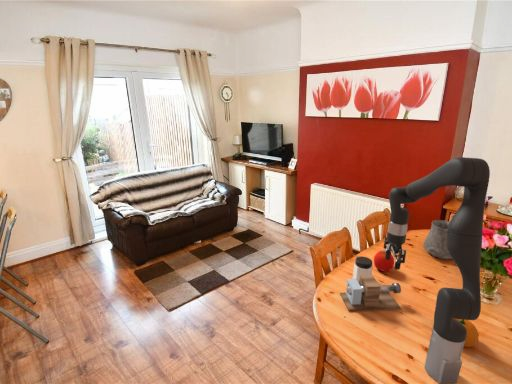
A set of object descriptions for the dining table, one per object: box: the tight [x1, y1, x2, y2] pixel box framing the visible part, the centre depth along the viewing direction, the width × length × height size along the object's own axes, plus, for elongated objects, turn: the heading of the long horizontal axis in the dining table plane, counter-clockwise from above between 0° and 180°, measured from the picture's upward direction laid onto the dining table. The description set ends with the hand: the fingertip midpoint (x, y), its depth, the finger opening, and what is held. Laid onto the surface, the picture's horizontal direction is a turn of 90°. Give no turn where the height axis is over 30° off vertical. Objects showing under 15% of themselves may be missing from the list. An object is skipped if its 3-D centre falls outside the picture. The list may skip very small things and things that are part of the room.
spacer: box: [345, 278, 362, 305], centre depth 137 cm, size 8×4×8 cm, turn 3°
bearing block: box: [339, 275, 402, 312], centre depth 138 cm, size 12×24×12 cm, turn 93°
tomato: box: [373, 250, 395, 272], centre depth 164 cm, size 10×11×11 cm
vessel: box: [423, 219, 453, 260], centre depth 178 cm, size 22×22×20 cm
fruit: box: [454, 318, 480, 348], centre depth 116 cm, size 12×12×10 cm
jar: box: [352, 255, 373, 283], centre depth 154 cm, size 9×8×12 cm
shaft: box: [346, 282, 402, 295], centre depth 137 cm, size 24×5×5 cm, turn 93°
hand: (392, 264), depth 134 cm, fingers open, 8 cm apart
